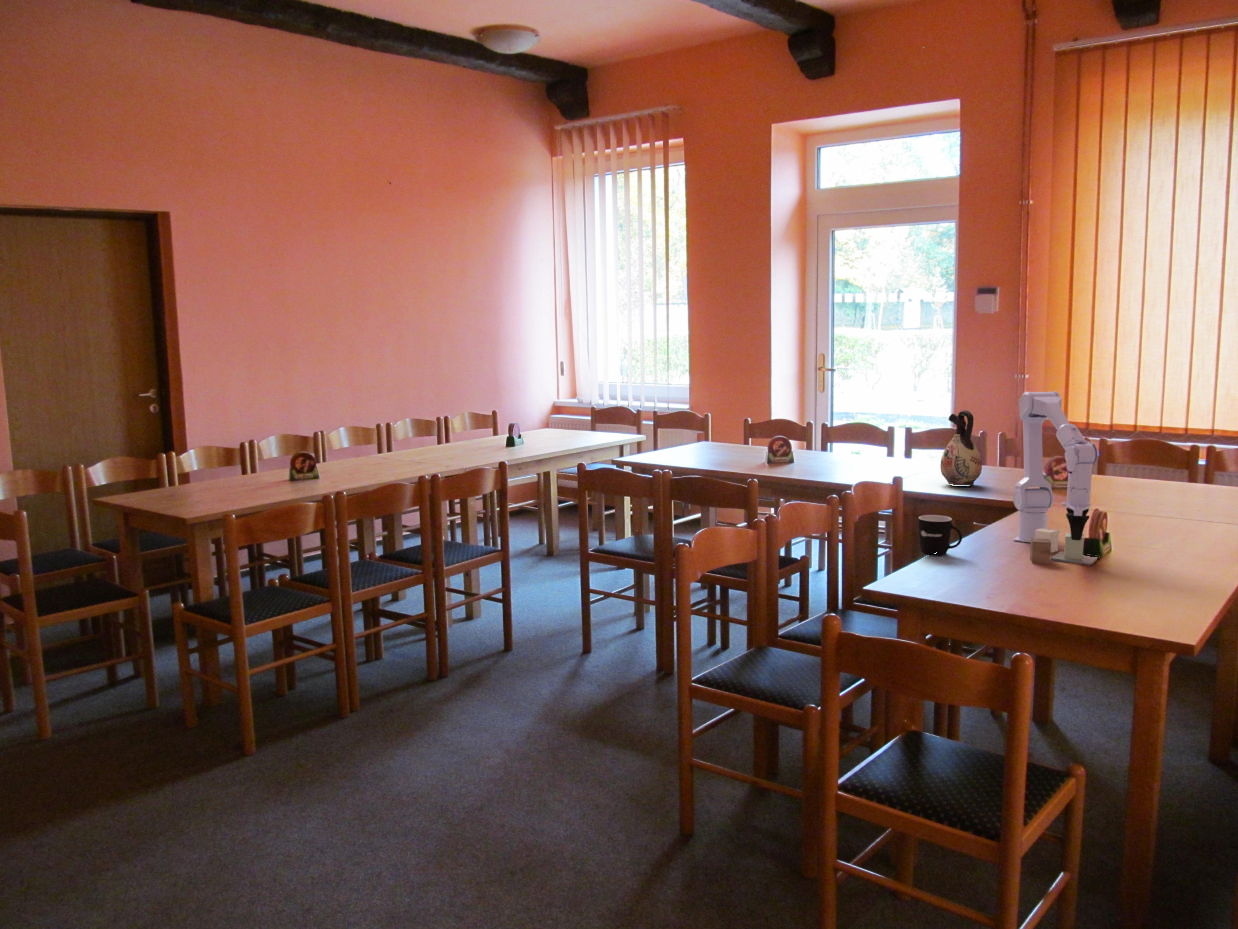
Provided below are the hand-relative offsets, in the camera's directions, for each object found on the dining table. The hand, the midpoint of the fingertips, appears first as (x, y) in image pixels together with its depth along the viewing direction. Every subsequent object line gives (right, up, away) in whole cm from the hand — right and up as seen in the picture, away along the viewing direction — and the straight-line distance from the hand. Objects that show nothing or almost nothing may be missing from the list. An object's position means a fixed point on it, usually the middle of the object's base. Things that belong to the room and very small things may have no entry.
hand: (1076, 537), depth 267 cm
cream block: (-3, -5, +11) cm, 12 cm away
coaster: (0, -6, +1) cm, 6 cm away
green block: (0, -6, +1) cm, 6 cm away
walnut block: (-10, -7, -1) cm, 12 cm away
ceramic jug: (+10, +11, +117) cm, 118 cm away
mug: (-34, -6, +8) cm, 36 cm away
